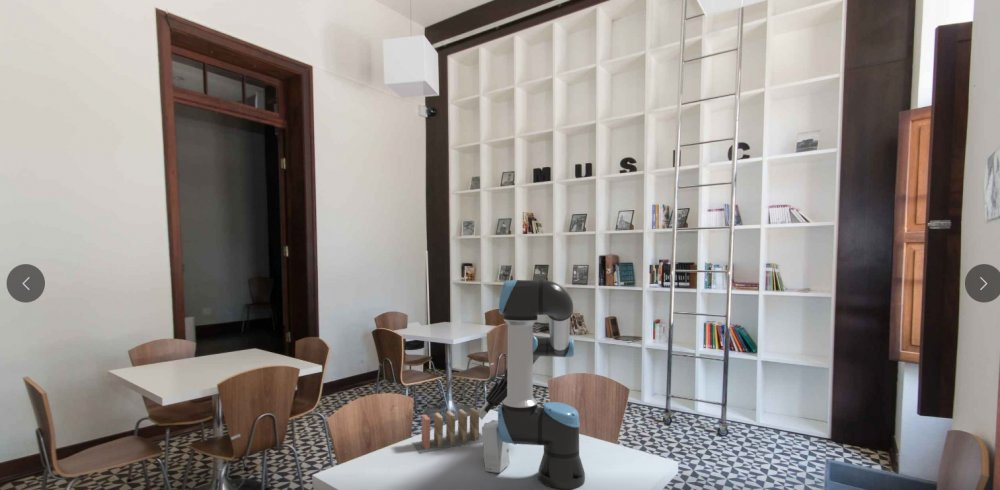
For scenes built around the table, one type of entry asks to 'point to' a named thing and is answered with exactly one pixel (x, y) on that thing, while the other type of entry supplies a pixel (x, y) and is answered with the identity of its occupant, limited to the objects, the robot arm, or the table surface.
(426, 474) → the table surface
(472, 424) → the domino
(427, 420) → the domino
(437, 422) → the domino
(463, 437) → the domino
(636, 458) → the table surface
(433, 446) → the mat
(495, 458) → the skincare box
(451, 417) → the domino
